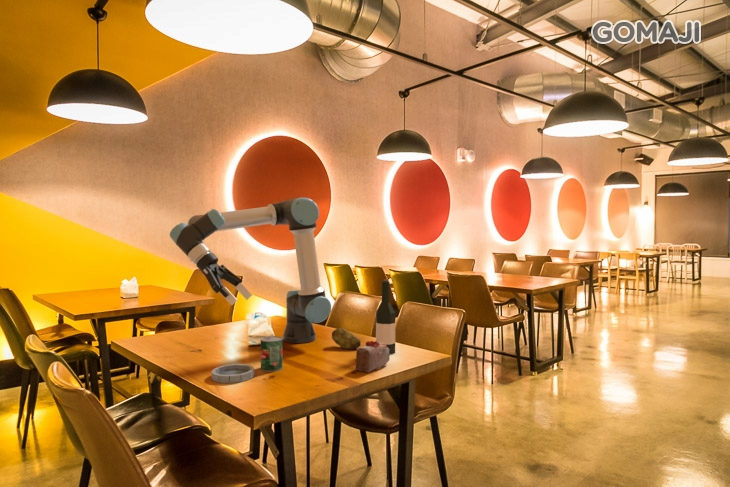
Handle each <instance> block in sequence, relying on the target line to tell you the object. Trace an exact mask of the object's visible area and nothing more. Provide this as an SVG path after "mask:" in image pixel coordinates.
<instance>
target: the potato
mask: <svg viewBox="0 0 730 487" xmlns="http://www.w3.org/2000/svg"><path fill="white" fill-rule="evenodd" d="M331 338H332V340H333V342H334V343H335V344H336V345H338V346H339V347H340V348H341V349H345V350H357V349H358V348H360V347H361V346H362V345H361V344H362V343H361V340H360V338H359V337H358V336H356V335H354V334H353V333H352V332H350V331H348V330H347V329H345V328H342V327H339V328H336V329H334V330H332V332H331Z"/></svg>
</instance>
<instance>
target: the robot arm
mask: <svg viewBox="0 0 730 487" xmlns="http://www.w3.org/2000/svg"><path fill="white" fill-rule="evenodd" d="M319 217H320V209H319V206H318V205H317V203H316V202H315V201H314V200H313V199H311V198H309V197H298V198H295V197H294V198H289V199H286V200H282V201H280V202H279V201H278V202H274V203H269V204H267V206H260V207H255V208H248V209H247V208H246V209H240V210H239V209H238V210H230V211H223V212H219V210H217V209H216V208H213V209H211V210H209V211H207V212H206V213H205V214H197V215H193V216H191V217H190V218H189V219H188V220H187V223H185V222H181V223H179V224H176V225H175V226H174V227H172V229H171V230H170V233H169V238H170V239H171V240H172V241H173V242H174V243H175V245H176V246H177V247H178V248H179V250H181V251H182V253H183V254H185V255H186V256H187V257H188V259H189V261H190V262H192V263H193V264H194V265H196V266H195V267H196V268H197V269H198V270H199V271H201V273H202V274H203V275H204V276H205V278H206V280H207V282H208V284H209V285H210V287H211V289H212V290H213V292H214V293H215V294H218V293H219V294H220V295H222V297H223V298H224V299H225V300H226V301H227V303H229V305H231V306H233V305H234V304H235V303H236V302H237V301H238V299H237V297H236V296H235V295H234V294H233V293H232V292H231V291H230V290H229V289H228V288H227V287H226V286H224V285H223V282H222V280H224V281H226V282H228V283H229V284H230V285H232V286H234V288H235V289H236V290H237V291H238V292H239V294H240V295H241V296H242V297H243V298H244V299H245V300H246V301H248V300H249V299H250V298H251V297H252V296H253V294H252V293H251V292H250V291H249V290H248V289H247V287H246V286H245V285H244V284H243V280H242V279H241V278H240V277H238V276H237V275H236V273H235V274H234V273H233V272H232V271H231V270H229V269H228V268H227V267H226V265H224V264H221V265H219V264H218V261H219V258H218V256H217V255H215V253H213V252H212V250H211V249H210V248H209V246H207V245H206V244H205V243H204V240H205V239H207V238H208V237H210V236H211V235H213V234H214V233H215V232H222V231H227V230H228V231H230V230H234V229H235V230H236V229H243V228H251V227H255V226H264V225H271V226H282V225H283V226H288V228H289V232H290V233H291V234H293V240H294V248H295V255H296V262H297V268H298V269H297V271H298V278H299V283H300V284H299V285H300V289H295V290H288V291H287V293H286V298H285V299H286V300H285V301H286V324H285V328H284V329H283V330H284V331H283V335H282V342H285V343H291V344H305V343H310V342H311V343H312V342H313V341H316V339H317V333H316V330H315V327H314V325H313V323H315V324H317V323H319V324H320V323H322V322H324V321H325V320H327V318H329V316H330V314H331V312H332V304H331V301H330V300H329V298H327V297H326V293H325V292H326V290H325V288H324V287H322V286H321V279H320V272H319V264H318V256H317V250H316V247H317V246H316V241H315V234H314V232H315V230H316V229H317V221H318V219H319Z"/></svg>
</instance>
